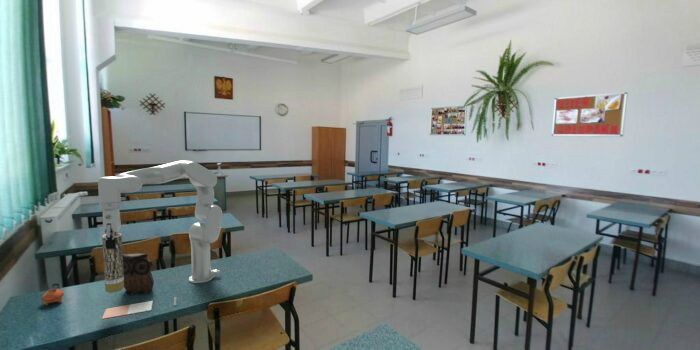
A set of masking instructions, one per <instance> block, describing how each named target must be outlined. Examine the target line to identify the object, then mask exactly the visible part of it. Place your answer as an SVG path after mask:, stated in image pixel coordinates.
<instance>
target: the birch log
mask: <svg viewBox="0 0 700 350" xmlns="http://www.w3.org/2000/svg"><path fill="white" fill-rule="evenodd" d="M122 236H123V235H122V233H121V232H118V233H114V239H115V248H113V249H106V233H104V234H102V236H101V237H102V239H101V240H102V255H103V273H104V286H105V287H104V291H105V292H106V293H109V294H113V293H117V292H120V291H123V289H125V288H124V272H123V254H124V253H123V237H122Z"/></svg>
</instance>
